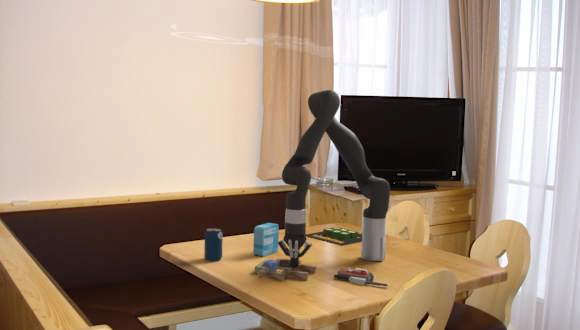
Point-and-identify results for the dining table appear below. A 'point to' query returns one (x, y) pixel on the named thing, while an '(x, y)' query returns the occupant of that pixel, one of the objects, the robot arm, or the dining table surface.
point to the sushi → (337, 236)
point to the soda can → (213, 244)
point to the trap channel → (285, 271)
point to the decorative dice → (271, 265)
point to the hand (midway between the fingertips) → (294, 267)
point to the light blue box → (266, 239)
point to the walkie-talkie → (357, 276)
